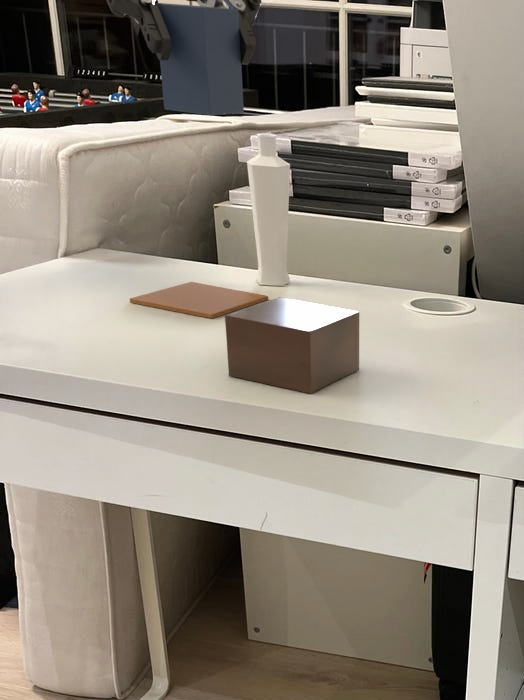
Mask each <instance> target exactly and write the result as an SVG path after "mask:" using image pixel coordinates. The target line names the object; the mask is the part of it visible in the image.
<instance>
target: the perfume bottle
mask: <svg viewBox="0 0 524 700" xmlns="http://www.w3.org/2000/svg"><path fill="white" fill-rule="evenodd" d="M256 136H257V146H258V147H257V149H258V154H257V155H256V156H253V157H252V158H250V159H248V160H247V161H246V166H247V176H248V184H249V193H250V201H251V203H250V204H251V211H252V220H253V229H254V238H255V247H256V255H257V265H258V267H257V268H258V269H257V273H256V277H255V281H256V282H257V283H258V285H260V286H272V287H273V286H274V287H283V286H286V285H287V284H289V283H291V278H290V275H289V271H288V267H287V263H288V260H287V259H288V237H289V235H288V234H289V206H290V180H291V179H290V177H291V176H290V175H291V170H290V169H291V163H288V162H287V161H286V160H284V159H283V158H281V157H280V156H278V155H277V137H278V135H277V134H271V133H256Z"/></svg>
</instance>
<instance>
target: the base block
mask: <svg viewBox="0 0 524 700" xmlns="http://www.w3.org/2000/svg"><path fill="white" fill-rule="evenodd" d="M224 322H225V337H226V351H227V354H226V355H227V367H228V369H227V370H228V377H233V378H238V379H242V380H246V381H251V382H255V383H261V384H265V385H268V386H269V385H270V386H274V387H278V388H282V389H287V390H293V391H296V392H301V393H306V394H311V395H312V394H314V393H315V392H317V391H319V390H322V389H324V388H325V387H327V386H330V385H331V384H334V383H336V382H338V381H340V380H341V379H344V378H346V377H348V376H350V375H351V374H354V373H356V372H358V371H360V311H357V310H351V309H346V308H340V307H335V306H329V305H324V304H320V303H319V304H318V303H314V302H308V301H303V300H298V299H293V298H288V297H281V296H279V297H275V298H272V299H270V300H269V299H268V300H266V301H263V302H260V303H257V304H254V305H251V306H248V307H245V308H242V309H239V310H236V311H233V312H229V313H226V314H224Z"/></svg>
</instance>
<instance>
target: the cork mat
mask: <svg viewBox="0 0 524 700" xmlns="http://www.w3.org/2000/svg"><path fill="white" fill-rule="evenodd" d="M266 301H269V295H265V294H259V293H255V292H250V291H243V290H238V289H234V288H233V289H232V288H227V287H223V286H216V285H211V284H206V283H200V282H195V281H189V282H185V283H182V284H178V285H174V286H171V287H170V286H169V287H166V288H163V289H159V290H155V291H152V292H149V293H145V294H141V295H138V296H134V297H130V298H129V303H131V304H135V305H136V304H137V305H141V306H146V307H150V308H151V307H152V308H156V309H161V310H167V311H172V312H177V313H181V314H187V315H191V316H197V317H201V318H202V317H203V318H206V319H214V318H217V317H221V316H223V315H227V314H230V313H233V312H236V311H239V310H242V309H245V308H248V307H251V306H254V305H257V304H260V303H263V302H266Z"/></svg>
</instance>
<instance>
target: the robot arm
mask: <svg viewBox="0 0 524 700" xmlns="http://www.w3.org/2000/svg"><path fill="white" fill-rule="evenodd" d="M105 1H106V3H107V5H108V8H109V10H110V12H111V13H112V15H114V16H115V17H117V18H124V17H126V16H129V17H132V18H133V19H134V21H135V22H136V24H138V25H139V27H140V30H141V32H142V35H143V38H144V41H145V43H146V45H147V48H148V49H149V51H150V52H151V53H152V54H156V57H157V59H158V60H159V61H160V60H168V59H169V56H170V52H171V48H172V41H171V38H170V35H169V33H168V30H167V28H166V25H165V22H164V20H163V17H162V15H161V12H160V10H159V7H158V5H155V3H156V0H105ZM186 1H187V2H196V4H198V6H205V7H216V8H227V7H226V6H225V4H226V5H227V6H228V7H229V8H228V9H238V13H239V32H240V51H241V65H249V64H250V61H251V60H252V58H253V56H254V53H255V50H256V47H257V40H256V37H255V35H254V33H253V31H252V27H254V25H255V23H256V21H257V20H256V19H257V15H258V13H259V10H260V8H261V5H262V0H186ZM224 3H225V4H224Z"/></svg>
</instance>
